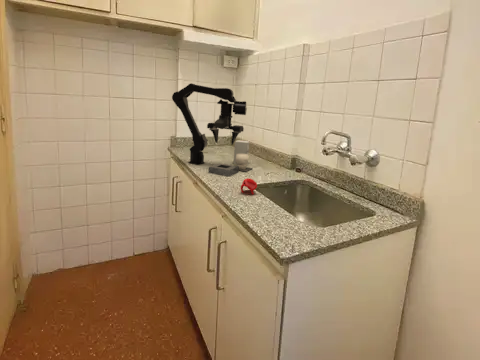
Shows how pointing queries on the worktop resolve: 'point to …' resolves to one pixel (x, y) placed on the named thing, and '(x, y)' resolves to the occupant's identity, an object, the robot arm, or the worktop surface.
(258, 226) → the worktop surface
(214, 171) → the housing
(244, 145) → the supplement box
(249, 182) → the red plastic curved piece
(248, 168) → the rubber mat
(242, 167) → the end cover
